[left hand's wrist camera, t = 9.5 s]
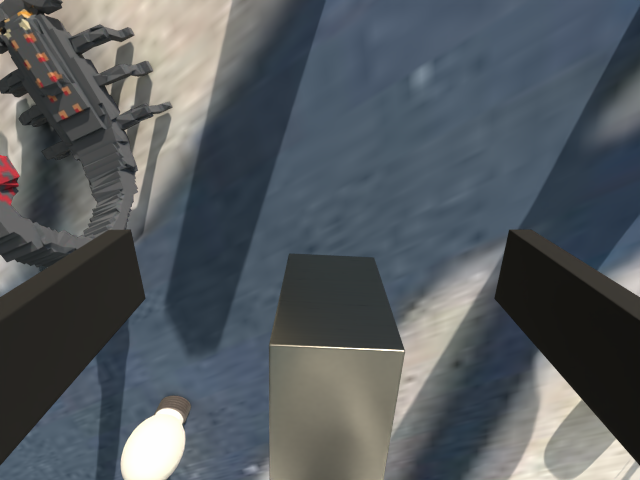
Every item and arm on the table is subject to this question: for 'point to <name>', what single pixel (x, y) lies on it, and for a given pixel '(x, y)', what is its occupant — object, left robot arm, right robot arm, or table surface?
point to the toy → (67, 124)
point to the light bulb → (157, 442)
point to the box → (332, 371)
